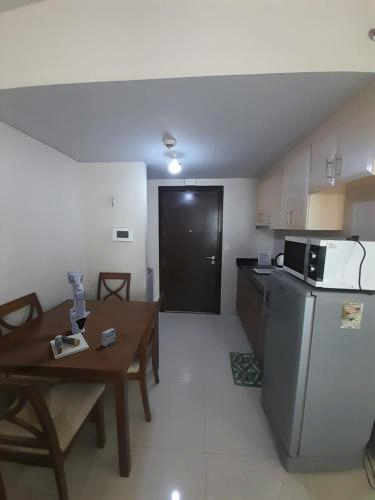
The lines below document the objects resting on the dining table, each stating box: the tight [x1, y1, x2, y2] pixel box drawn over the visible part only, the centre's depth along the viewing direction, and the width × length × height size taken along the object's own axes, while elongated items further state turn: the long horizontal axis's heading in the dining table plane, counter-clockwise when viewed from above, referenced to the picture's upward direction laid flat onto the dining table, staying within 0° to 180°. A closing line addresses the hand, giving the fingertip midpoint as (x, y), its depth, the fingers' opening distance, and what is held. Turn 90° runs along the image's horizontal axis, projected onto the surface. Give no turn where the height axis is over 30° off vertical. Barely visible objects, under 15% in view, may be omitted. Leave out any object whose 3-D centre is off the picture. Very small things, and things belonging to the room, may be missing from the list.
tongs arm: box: [54, 334, 80, 346], centre depth 136 cm, size 16×4×4 cm, turn 73°
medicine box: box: [100, 327, 117, 347], centre depth 140 cm, size 8×4×9 cm, turn 151°
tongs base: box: [53, 338, 62, 354], centre depth 133 cm, size 17×5×3 cm, turn 38°
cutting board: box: [50, 333, 90, 360], centre depth 137 cm, size 22×18×2 cm
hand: (81, 329), depth 141 cm, fingers closed
